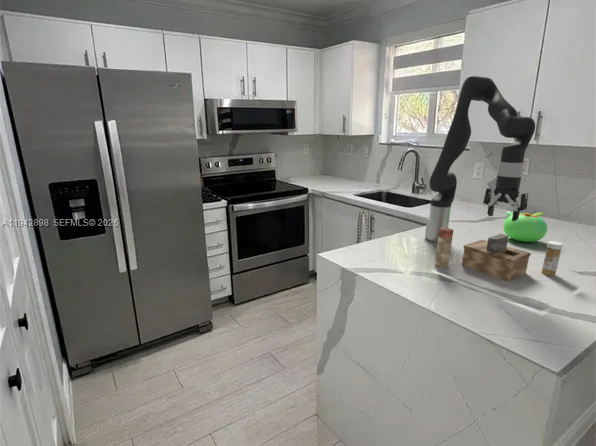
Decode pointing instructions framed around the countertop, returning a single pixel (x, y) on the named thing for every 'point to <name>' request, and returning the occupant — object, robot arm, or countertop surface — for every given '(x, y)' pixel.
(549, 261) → the sprinkles bottle
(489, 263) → the wooden box
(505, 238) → the lid
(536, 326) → the countertop surface
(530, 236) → the green rounded piece
